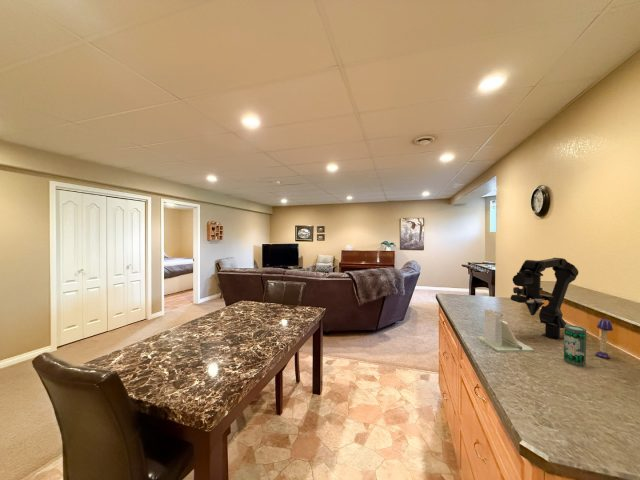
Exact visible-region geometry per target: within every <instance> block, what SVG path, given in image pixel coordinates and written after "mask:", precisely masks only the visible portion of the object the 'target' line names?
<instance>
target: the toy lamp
mask: <svg viewBox="0 0 640 480" xmlns="http://www.w3.org/2000/svg"><path fill="white" fill-rule="evenodd" d="M596 328H597V329H600V330H601V332H600V333H601V335H600V343H599V344H600V346H599V348H600V349H599V351H597V352H595V356H597V357H599V358H602V359H606V360H609V359H611V358H610V355H609V354H608V353H607V351H606V350H607V342H608V341H607V340H608V332H612V331H613V330H614V328H613V325H612V321H611V320H609V319H606V318H600V319H599V321H598V323H597V325H596Z"/></svg>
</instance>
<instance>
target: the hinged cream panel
mask: <svg viewBox="0 0 640 480" xmlns="http://www.w3.org/2000/svg"><path fill="white" fill-rule="evenodd" d="M502 338H503V339H505V340H507V341H508V342H510V343H512V344H514V345H515V346H517V347H519V346H520V345H519V344H518V342H517V341H518V340H517V338H516V336H515V334H514V333H513V330H512V328H511V327H510V324H509V323H508V322H507V321H504V320H502Z"/></svg>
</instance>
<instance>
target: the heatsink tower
mask: <svg viewBox="0 0 640 480" xmlns="http://www.w3.org/2000/svg"><path fill="white" fill-rule="evenodd" d="M483 313H484V315H483V318H484V319H483V320H484V321H483V322H484V326H483V327H484V328H483V330H484V331H483V336H484V340H486V341H488V342H489V343H491V344H492V345H494V346H495V347H502V321H503V317H504V315H503V314H502V313H500V312H497V311H493V310H492V309H484V310H483Z"/></svg>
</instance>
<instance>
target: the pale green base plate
mask: <svg viewBox="0 0 640 480" xmlns="http://www.w3.org/2000/svg"><path fill="white" fill-rule="evenodd" d="M477 338H478V339H477ZM476 339H477V340H479V341H480V342H482V343H483V344H485V345H486V346H487V347H489V348H490V349H493V351H495V352H496V353H535V349H534V348H532V347H530V346H528V345H526V344H524V343H523V342H521V341H519V340H517V342H518V344H519V345H520V346H519V347H517V346H515V345H514V344H512V343H510V342H508V341H507V340H505V339H503V338H502V347H495V346H494V345H492V344H491V343H489V342H488V341H486V340H484V335H482V336H480V335H479V336H476Z"/></svg>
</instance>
